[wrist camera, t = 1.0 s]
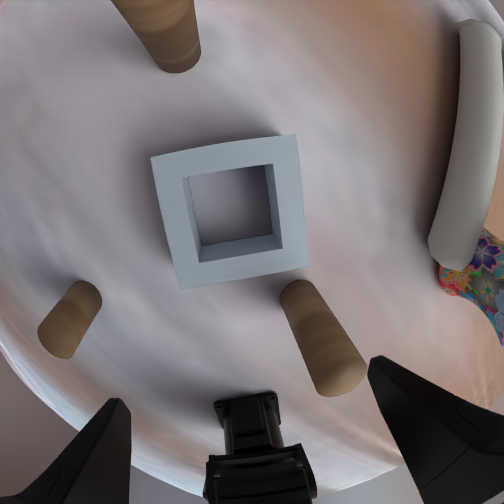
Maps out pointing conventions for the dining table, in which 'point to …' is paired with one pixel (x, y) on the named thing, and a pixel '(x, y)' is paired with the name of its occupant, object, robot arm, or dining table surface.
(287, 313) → the medium walnut dowel
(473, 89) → the tube
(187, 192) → the slate collar block
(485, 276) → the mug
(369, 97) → the dining table surface
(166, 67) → the long walnut dowel
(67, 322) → the short walnut dowel
